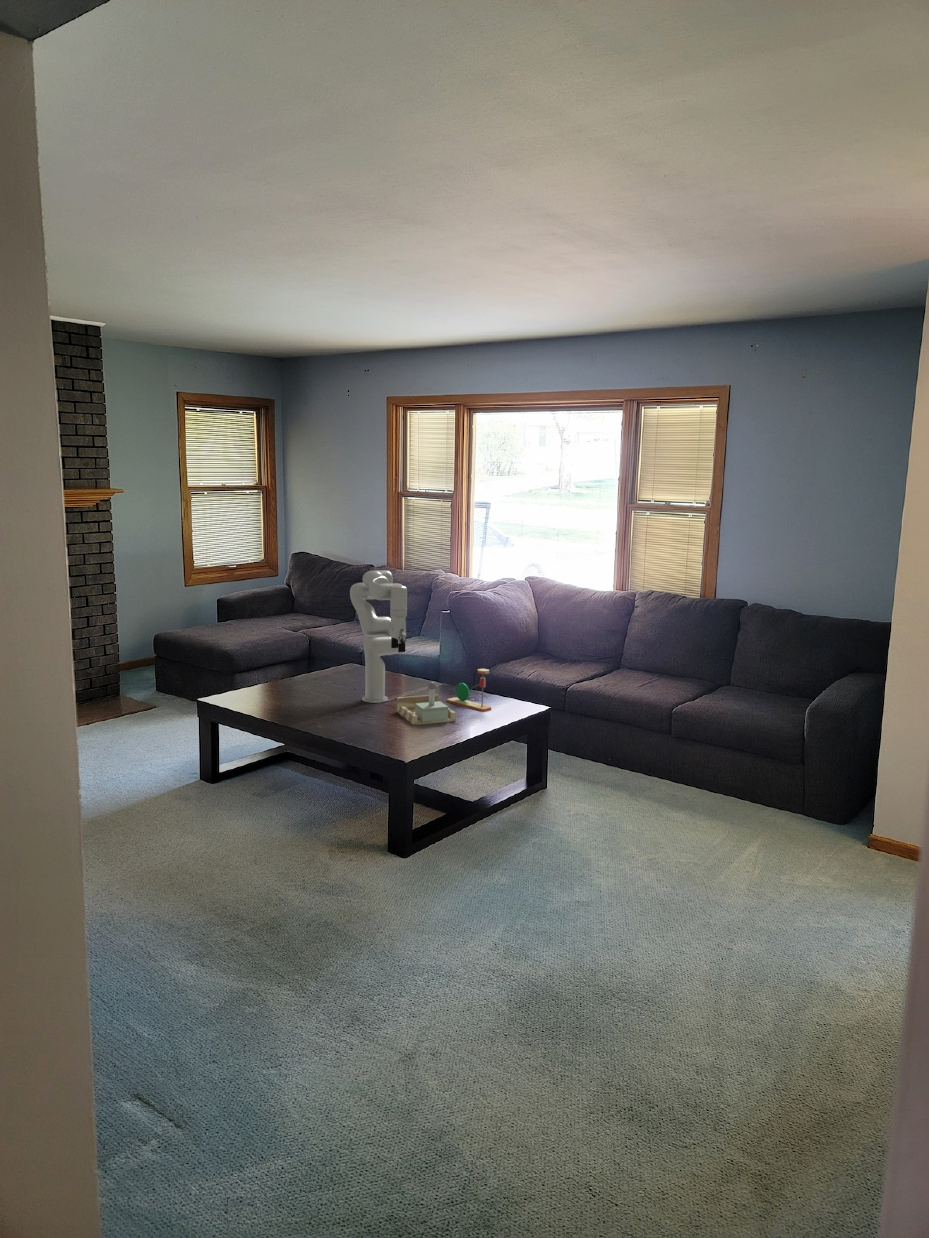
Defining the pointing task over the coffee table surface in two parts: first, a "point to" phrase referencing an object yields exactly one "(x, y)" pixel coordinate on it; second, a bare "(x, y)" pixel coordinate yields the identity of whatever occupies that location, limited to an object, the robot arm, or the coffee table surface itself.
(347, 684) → the coffee table surface
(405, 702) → the bay
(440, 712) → the green joystick
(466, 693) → the crank mechanism
